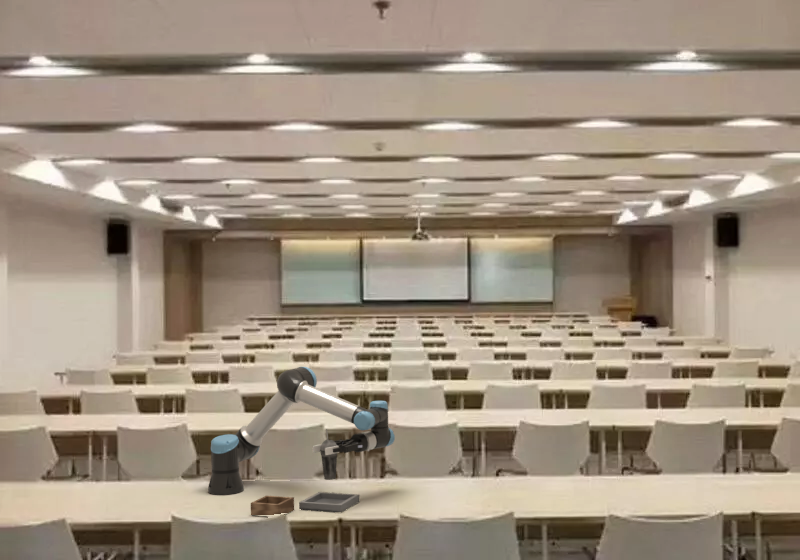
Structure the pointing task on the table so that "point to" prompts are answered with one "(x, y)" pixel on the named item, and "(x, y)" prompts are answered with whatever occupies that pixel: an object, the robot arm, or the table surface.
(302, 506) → the tray
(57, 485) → the table surface
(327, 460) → the beverage cup
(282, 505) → the brown wooden box
